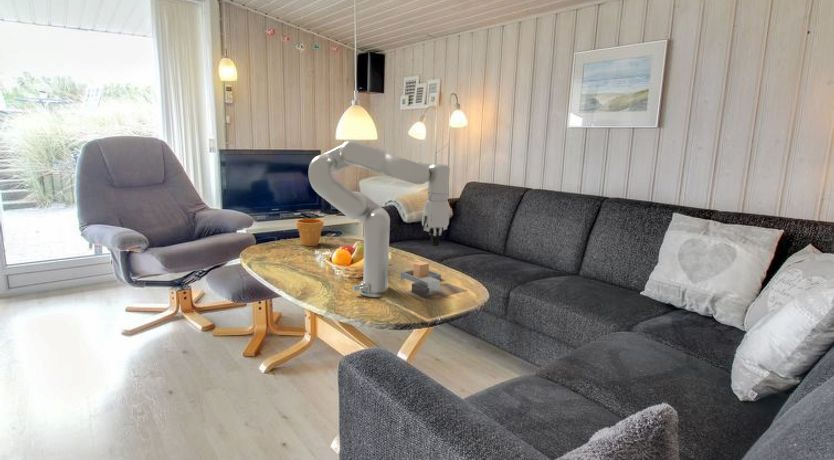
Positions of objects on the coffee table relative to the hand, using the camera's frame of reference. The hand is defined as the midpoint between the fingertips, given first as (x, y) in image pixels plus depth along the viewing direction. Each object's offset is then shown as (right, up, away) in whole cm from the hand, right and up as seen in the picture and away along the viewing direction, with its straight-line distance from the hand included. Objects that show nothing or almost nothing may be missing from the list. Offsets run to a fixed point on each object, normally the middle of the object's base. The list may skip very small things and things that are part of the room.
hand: (434, 245), depth 184 cm
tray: (-5, -16, +19) cm, 25 cm away
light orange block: (-5, -15, +19) cm, 25 cm away
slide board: (0, -19, +2) cm, 19 cm away
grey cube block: (-2, -18, 0) cm, 18 cm away
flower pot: (-65, -2, +78) cm, 101 cm away
